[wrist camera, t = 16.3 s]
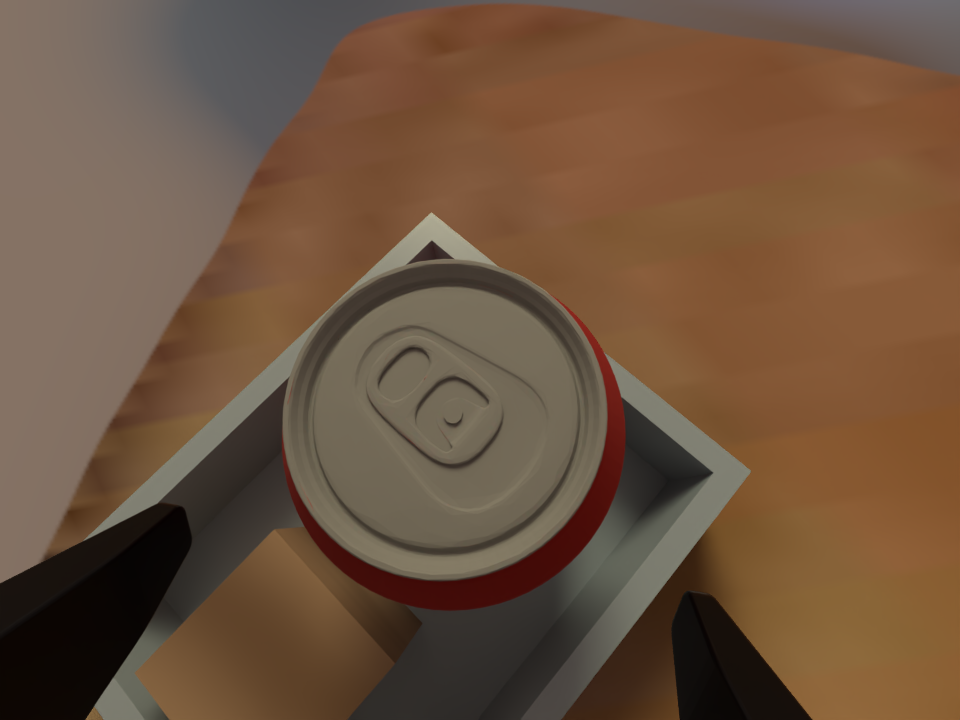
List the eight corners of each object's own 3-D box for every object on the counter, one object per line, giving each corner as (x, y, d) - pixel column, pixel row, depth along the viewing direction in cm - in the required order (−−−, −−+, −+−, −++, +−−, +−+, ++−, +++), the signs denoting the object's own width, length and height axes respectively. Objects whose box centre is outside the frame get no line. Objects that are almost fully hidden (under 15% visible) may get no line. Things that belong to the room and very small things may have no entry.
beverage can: (486, 598, 18) (467, 750, 7) (353, 477, 20) (153, 432, 8) (596, 454, 20) (736, 377, 8) (465, 350, 21) (426, 158, 10)
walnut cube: (320, 741, 17) (252, 830, 12) (229, 630, 18) (134, 672, 14) (422, 623, 18) (395, 663, 13) (330, 524, 19) (274, 529, 14)
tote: (374, 880, 17) (324, 1029, 12) (135, 579, 20) (19, 600, 15) (691, 480, 20) (751, 471, 15) (445, 274, 23) (431, 212, 18)
